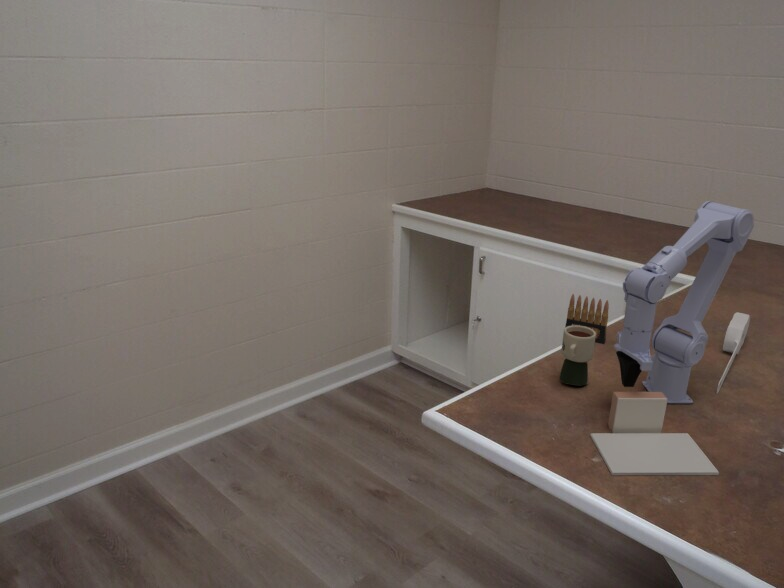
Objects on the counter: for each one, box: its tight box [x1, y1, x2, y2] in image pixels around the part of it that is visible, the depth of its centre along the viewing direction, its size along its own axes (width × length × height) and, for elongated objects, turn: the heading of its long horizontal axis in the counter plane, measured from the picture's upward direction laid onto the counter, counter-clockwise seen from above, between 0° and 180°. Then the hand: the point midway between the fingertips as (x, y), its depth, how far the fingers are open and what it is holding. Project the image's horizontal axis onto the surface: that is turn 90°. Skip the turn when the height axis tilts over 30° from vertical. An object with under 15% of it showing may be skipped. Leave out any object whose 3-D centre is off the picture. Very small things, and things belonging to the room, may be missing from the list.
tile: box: [607, 391, 668, 433], centre depth 137 cm, size 3×10×8 cm, turn 92°
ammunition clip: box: [564, 293, 610, 345], centre depth 177 cm, size 11×2×12 cm, turn 63°
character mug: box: [559, 325, 596, 387], centre depth 154 cm, size 11×7×13 cm, turn 148°
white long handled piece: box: [716, 311, 751, 395], centre depth 167 cm, size 38×8×4 cm
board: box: [589, 432, 720, 476], centre depth 130 cm, size 13×20×1 cm, turn 92°
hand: (627, 385), depth 142 cm, fingers closed
